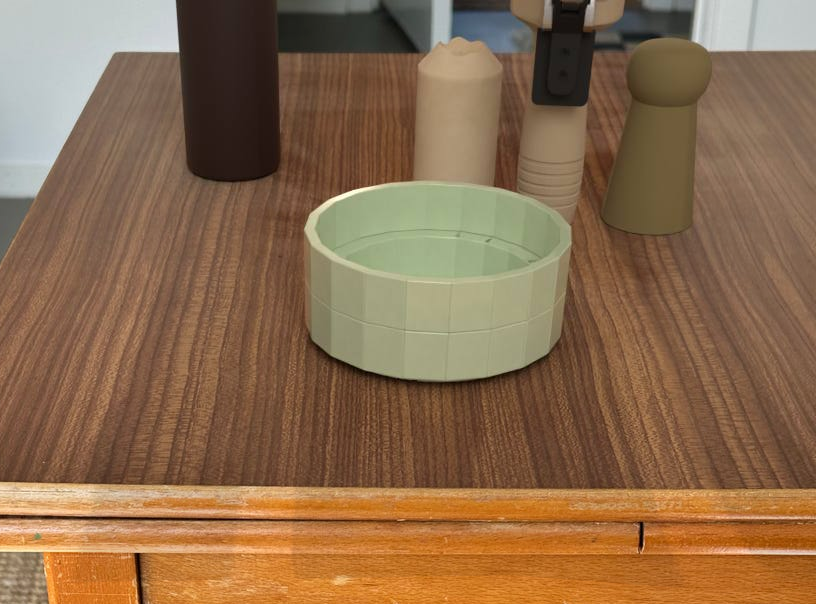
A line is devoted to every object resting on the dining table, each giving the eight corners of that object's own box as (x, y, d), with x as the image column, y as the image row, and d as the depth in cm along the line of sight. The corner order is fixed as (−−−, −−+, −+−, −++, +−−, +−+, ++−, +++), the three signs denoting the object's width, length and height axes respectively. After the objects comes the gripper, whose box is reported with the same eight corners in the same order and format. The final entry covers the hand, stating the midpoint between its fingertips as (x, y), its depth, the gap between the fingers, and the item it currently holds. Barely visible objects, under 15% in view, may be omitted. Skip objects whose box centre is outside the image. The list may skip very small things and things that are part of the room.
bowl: (558, 286, 79) (569, 186, 76) (560, 399, 68) (573, 289, 65) (323, 273, 81) (323, 175, 77) (288, 382, 70) (286, 273, 66)
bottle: (177, 156, 97) (154, -160, 85) (266, 146, 99) (257, -164, 86) (199, 187, 92) (178, -143, 79) (292, 177, 94) (286, -148, 81)
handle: (507, 225, 87) (528, -25, 77) (602, 242, 85) (635, -14, 75) (481, 252, 83) (500, -7, 74) (579, 269, 81) (611, 6, 72)
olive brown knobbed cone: (583, 207, 89) (605, 34, 82) (660, 196, 91) (688, 25, 84) (630, 240, 85) (657, 59, 78) (710, 227, 87) (743, 49, 80)
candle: (415, 212, 88) (422, 54, 82) (409, 183, 93) (415, 31, 87) (497, 211, 89) (510, 54, 82) (487, 182, 93) (499, 30, 87)
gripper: (686, -272, 60) (630, 138, 71) (660, -298, 73) (616, 51, 84) (518, -273, 60) (489, 133, 72) (523, -299, 74) (498, 47, 85)
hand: (558, 85), depth 78 cm, fingers closed on handle, 5 cm apart
